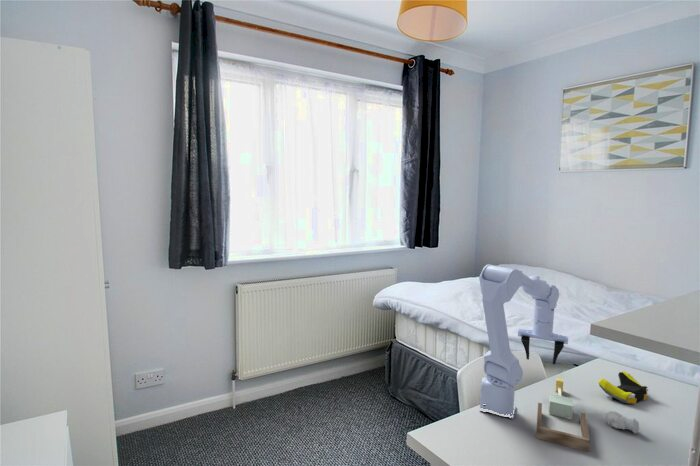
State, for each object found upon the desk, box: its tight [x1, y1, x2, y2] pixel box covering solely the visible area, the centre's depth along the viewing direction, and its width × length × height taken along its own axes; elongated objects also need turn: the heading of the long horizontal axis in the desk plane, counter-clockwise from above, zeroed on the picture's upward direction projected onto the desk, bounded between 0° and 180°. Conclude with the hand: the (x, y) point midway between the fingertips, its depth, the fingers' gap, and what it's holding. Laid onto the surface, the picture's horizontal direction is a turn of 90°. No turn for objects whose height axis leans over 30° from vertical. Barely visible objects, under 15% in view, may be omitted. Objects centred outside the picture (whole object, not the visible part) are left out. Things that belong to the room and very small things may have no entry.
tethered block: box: [548, 377, 574, 420], centre depth 123 cm, size 6×18×4 cm, turn 153°
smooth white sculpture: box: [605, 410, 640, 435], centre depth 110 cm, size 4×8×5 cm
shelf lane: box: [535, 402, 590, 452], centre depth 109 cm, size 12×14×3 cm
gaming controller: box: [598, 371, 650, 405], centre depth 128 cm, size 15×6×10 cm
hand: (540, 360), depth 129 cm, fingers open, 7 cm apart
